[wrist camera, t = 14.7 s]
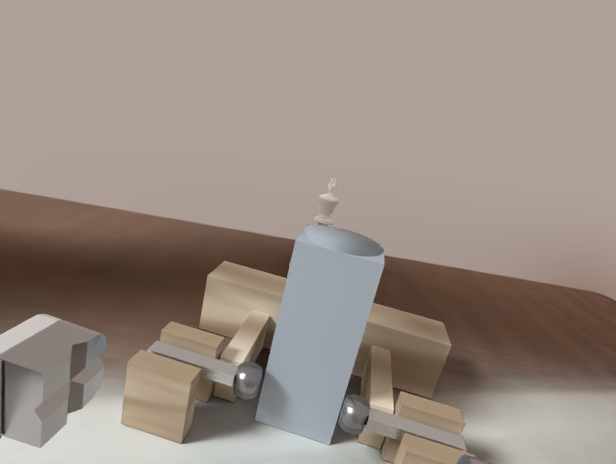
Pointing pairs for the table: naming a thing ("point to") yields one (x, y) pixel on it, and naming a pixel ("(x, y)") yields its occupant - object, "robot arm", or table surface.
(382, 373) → the light wooden frame
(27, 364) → the robot arm
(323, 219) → the chess piece
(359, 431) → the plunger
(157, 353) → the plunger
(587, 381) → the table surface
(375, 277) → the peg
